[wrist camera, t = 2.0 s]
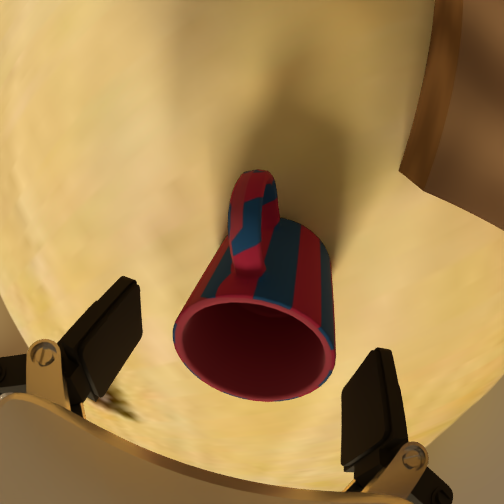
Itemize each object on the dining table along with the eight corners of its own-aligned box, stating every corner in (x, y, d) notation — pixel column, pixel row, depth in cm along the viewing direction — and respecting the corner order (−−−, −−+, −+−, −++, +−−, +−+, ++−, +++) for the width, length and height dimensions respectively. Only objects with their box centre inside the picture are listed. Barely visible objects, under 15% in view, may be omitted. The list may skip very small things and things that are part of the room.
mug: (218, 303, 19) (182, 385, 13) (219, 150, 14) (151, 187, 8) (318, 319, 18) (314, 410, 12) (352, 165, 13) (385, 215, 7)
